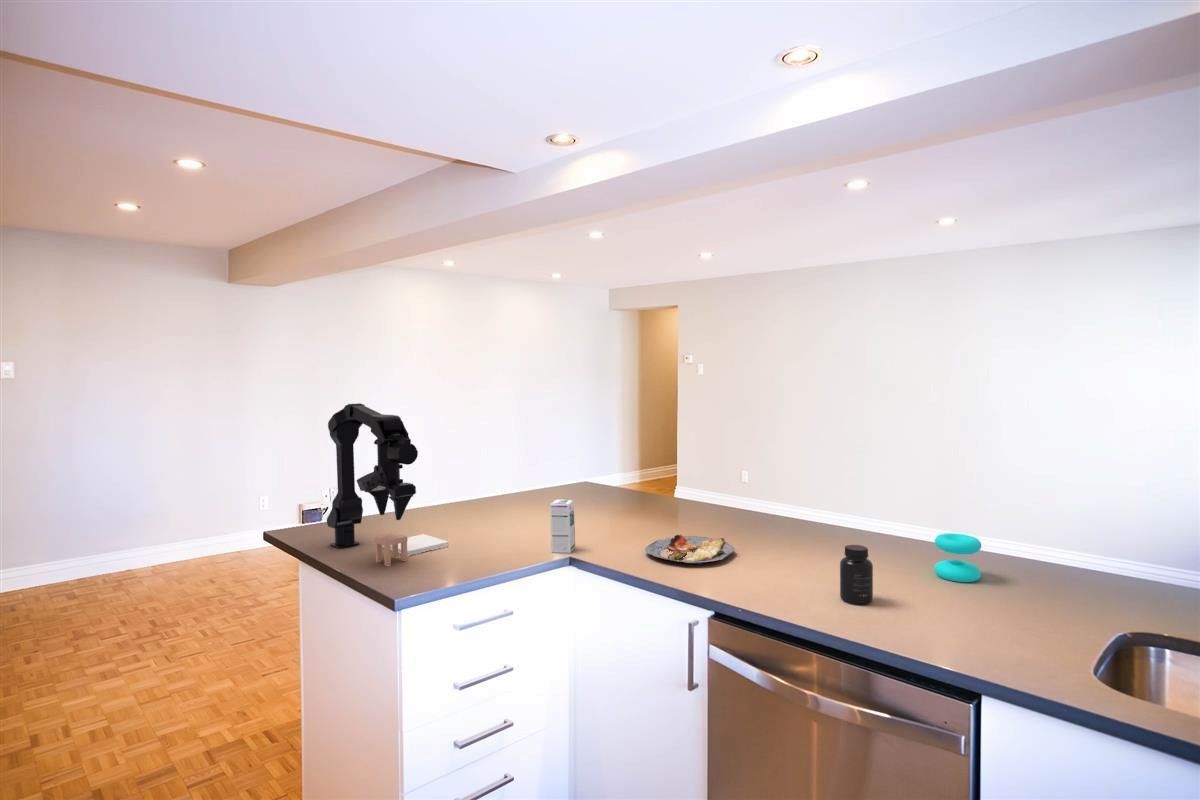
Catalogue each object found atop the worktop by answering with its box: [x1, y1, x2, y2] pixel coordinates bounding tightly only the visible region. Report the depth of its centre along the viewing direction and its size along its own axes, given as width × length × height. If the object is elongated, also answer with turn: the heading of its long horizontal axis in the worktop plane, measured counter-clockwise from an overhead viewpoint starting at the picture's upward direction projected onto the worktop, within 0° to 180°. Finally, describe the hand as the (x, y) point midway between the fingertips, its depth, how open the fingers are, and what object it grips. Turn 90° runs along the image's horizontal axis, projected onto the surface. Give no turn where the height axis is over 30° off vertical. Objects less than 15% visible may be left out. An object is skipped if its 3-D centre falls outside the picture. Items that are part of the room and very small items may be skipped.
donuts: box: [934, 532, 982, 583], centre depth 157 cm, size 10×10×10 cm
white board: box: [381, 533, 450, 557], centre depth 191 cm, size 14×14×2 cm
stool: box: [374, 532, 408, 567], centre depth 177 cm, size 6×6×7 cm
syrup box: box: [549, 498, 576, 554], centre depth 186 cm, size 6×6×14 cm
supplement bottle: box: [839, 544, 874, 606], centre depth 142 cm, size 7×7×12 cm
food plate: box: [644, 534, 736, 565], centre depth 180 cm, size 25×23×4 cm
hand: (390, 517), depth 177 cm, fingers open, 9 cm apart
